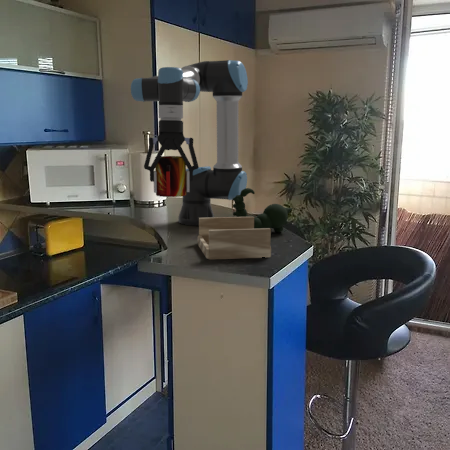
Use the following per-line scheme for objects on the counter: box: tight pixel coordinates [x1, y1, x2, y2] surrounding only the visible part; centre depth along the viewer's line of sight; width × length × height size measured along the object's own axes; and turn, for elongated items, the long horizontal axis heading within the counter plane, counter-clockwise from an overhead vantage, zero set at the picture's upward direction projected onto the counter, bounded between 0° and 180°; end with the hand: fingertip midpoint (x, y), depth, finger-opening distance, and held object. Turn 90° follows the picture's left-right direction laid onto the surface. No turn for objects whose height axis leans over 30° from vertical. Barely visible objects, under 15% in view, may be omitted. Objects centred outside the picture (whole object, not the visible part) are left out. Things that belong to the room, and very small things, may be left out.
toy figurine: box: [232, 187, 293, 233], centre depth 198 cm, size 9×19×25 cm
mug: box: [154, 155, 187, 198], centre depth 166 cm, size 10×14×12 cm
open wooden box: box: [197, 216, 272, 261], centre depth 172 cm, size 22×20×9 cm
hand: (171, 191), depth 166 cm, fingers closed on mug, 10 cm apart
